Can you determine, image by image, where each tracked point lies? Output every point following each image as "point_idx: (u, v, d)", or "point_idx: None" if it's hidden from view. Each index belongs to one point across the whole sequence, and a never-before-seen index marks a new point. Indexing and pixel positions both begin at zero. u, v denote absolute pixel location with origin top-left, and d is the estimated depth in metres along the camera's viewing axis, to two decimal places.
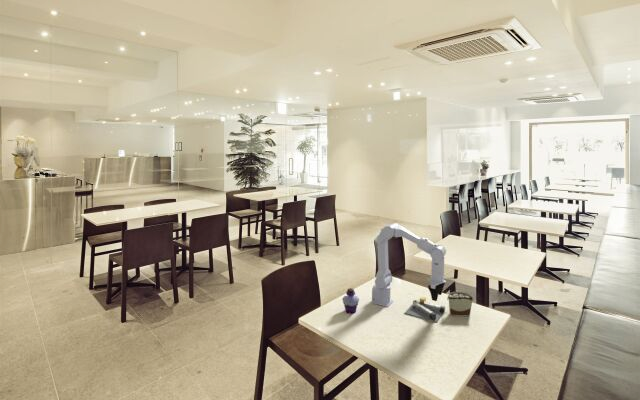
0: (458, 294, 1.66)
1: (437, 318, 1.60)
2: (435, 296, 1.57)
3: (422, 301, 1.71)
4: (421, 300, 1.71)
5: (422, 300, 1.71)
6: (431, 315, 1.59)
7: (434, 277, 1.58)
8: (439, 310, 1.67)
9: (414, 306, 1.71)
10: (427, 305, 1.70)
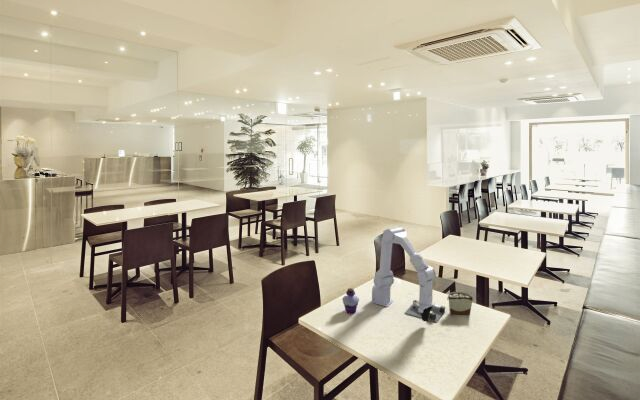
0: (458, 294, 1.66)
1: (437, 318, 1.60)
2: (425, 317, 1.54)
3: None
4: None
5: None
6: (431, 315, 1.59)
7: (422, 300, 1.52)
8: (439, 310, 1.67)
9: (414, 306, 1.71)
10: None
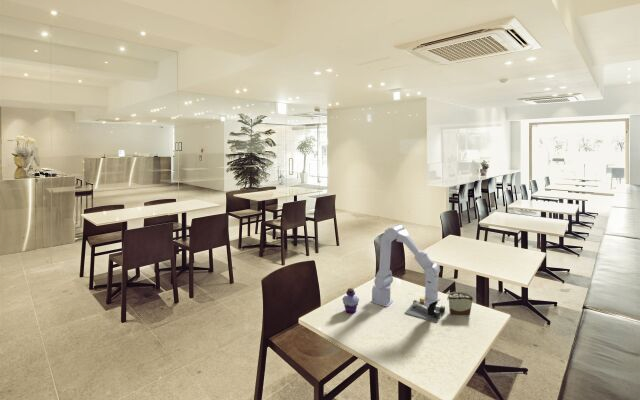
0: (458, 294, 1.66)
1: (437, 318, 1.60)
2: (432, 311, 1.61)
3: (422, 301, 1.71)
4: (421, 300, 1.71)
5: (422, 300, 1.71)
6: (435, 314, 1.61)
7: (427, 295, 1.59)
8: (439, 310, 1.67)
9: (415, 306, 1.71)
10: None
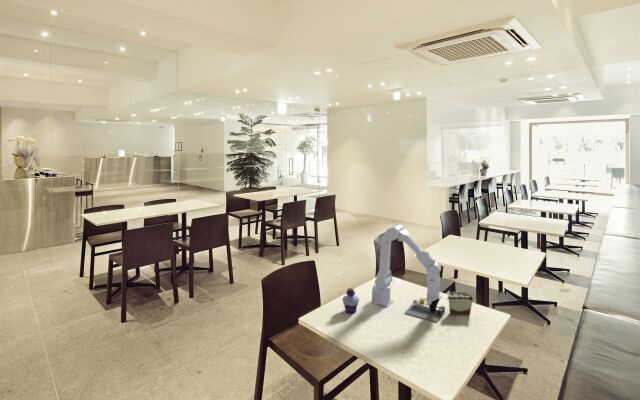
0: (458, 294, 1.66)
1: (437, 318, 1.60)
2: (433, 308, 1.63)
3: (422, 301, 1.71)
4: (421, 300, 1.71)
5: (422, 300, 1.71)
6: (439, 311, 1.63)
7: (429, 293, 1.61)
8: None
9: (415, 306, 1.71)
10: None
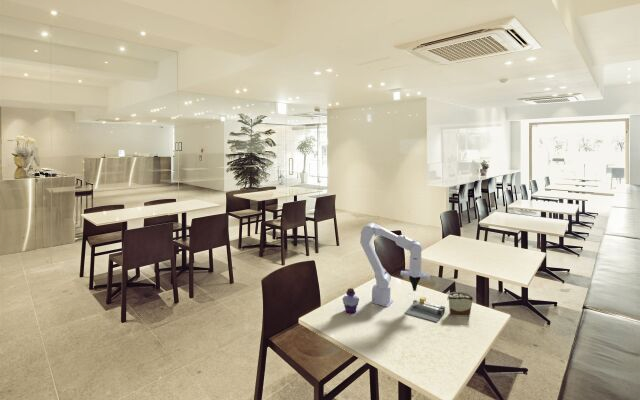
0: (458, 294, 1.66)
1: (437, 318, 1.60)
2: None
3: (422, 301, 1.71)
4: (421, 300, 1.71)
5: (422, 300, 1.71)
6: (439, 311, 1.63)
7: None
8: None
9: (415, 306, 1.71)
10: None
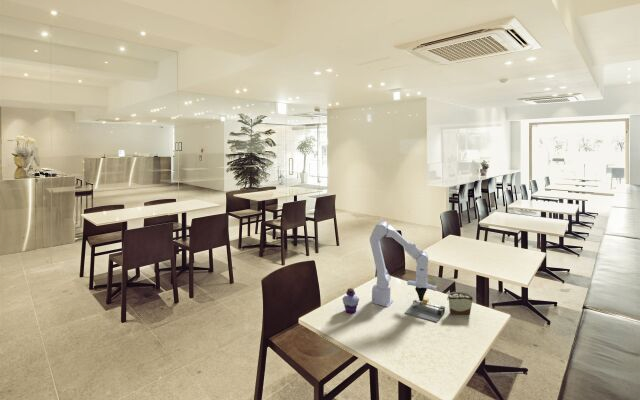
0: (458, 294, 1.66)
1: (437, 318, 1.60)
2: None
3: (425, 302, 1.70)
4: (424, 301, 1.70)
5: (425, 301, 1.70)
6: (439, 311, 1.63)
7: None
8: None
9: (415, 306, 1.71)
10: None
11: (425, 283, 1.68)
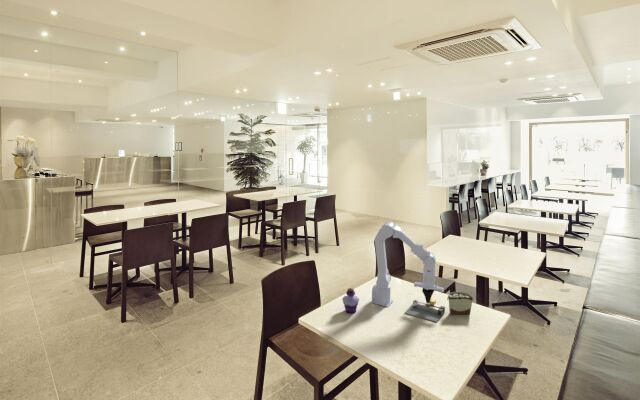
0: (458, 294, 1.66)
1: (437, 318, 1.60)
2: None
3: (432, 303, 1.68)
4: (431, 302, 1.68)
5: (432, 302, 1.68)
6: (439, 311, 1.63)
7: None
8: None
9: (415, 306, 1.71)
10: None
11: (432, 285, 1.66)
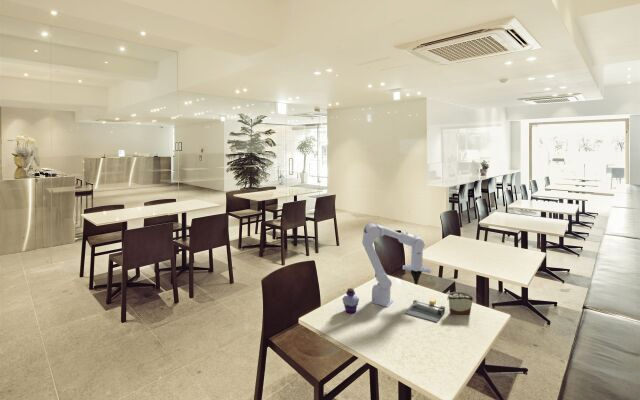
0: (458, 294, 1.66)
1: (437, 318, 1.60)
2: None
3: (432, 303, 1.68)
4: (431, 302, 1.68)
5: (432, 302, 1.68)
6: (439, 311, 1.63)
7: None
8: None
9: (415, 306, 1.71)
10: None
11: (420, 266, 1.75)
